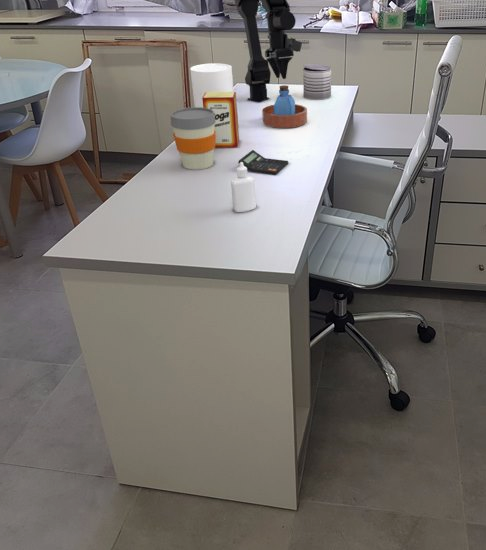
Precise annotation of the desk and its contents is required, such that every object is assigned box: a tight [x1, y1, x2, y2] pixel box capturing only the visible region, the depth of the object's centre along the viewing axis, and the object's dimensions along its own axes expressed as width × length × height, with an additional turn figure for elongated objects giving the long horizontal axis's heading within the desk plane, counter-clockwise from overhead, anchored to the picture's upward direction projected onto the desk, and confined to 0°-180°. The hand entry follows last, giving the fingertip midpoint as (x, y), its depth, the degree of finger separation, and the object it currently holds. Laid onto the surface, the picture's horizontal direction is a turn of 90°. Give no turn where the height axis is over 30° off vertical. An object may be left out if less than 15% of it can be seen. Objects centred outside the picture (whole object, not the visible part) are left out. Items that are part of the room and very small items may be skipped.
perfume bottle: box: [273, 84, 296, 115], centre depth 199 cm, size 6×6×12 cm
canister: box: [189, 62, 235, 108], centre depth 193 cm, size 14×14×20 cm
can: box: [302, 63, 332, 101], centre depth 229 cm, size 11×11×12 cm
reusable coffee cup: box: [170, 106, 216, 170], centre depth 164 cm, size 13×13×15 cm
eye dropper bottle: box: [230, 162, 257, 213], centre depth 137 cm, size 4×6×12 cm
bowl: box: [261, 103, 308, 129], centre depth 201 cm, size 16×16×4 cm
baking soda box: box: [202, 91, 240, 149], centre depth 179 cm, size 10×6×16 cm
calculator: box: [237, 149, 289, 176], centre depth 164 cm, size 9×12×3 cm
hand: (281, 78), depth 205 cm, fingers open, 9 cm apart
